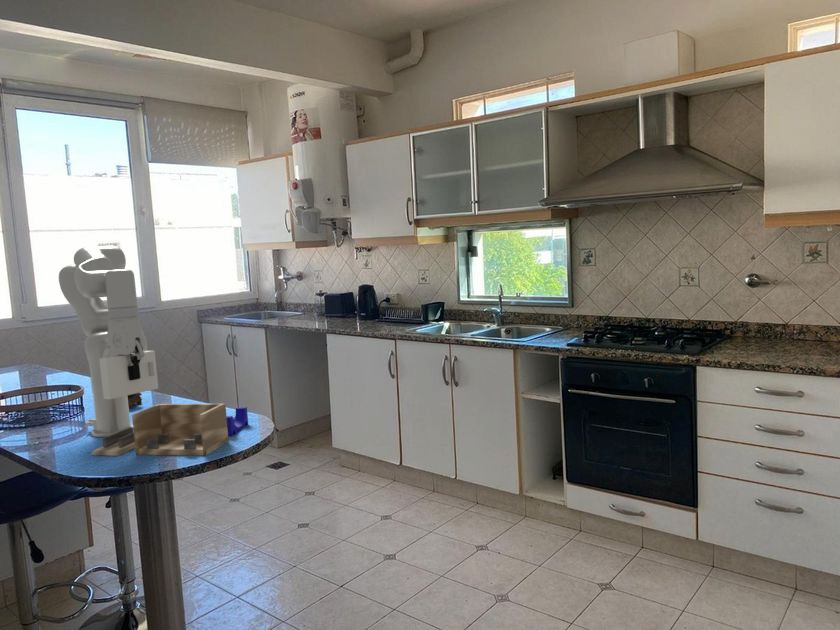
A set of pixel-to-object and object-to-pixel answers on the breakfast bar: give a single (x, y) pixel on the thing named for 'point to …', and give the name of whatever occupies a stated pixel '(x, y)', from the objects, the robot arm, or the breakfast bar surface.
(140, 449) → the cabinet
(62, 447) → the breakfast bar surface
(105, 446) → the door stand
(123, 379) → the door
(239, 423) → the cable clip
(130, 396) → the pottery mug
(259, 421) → the breakfast bar surface
